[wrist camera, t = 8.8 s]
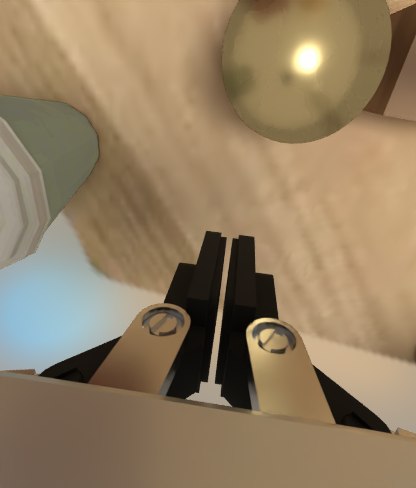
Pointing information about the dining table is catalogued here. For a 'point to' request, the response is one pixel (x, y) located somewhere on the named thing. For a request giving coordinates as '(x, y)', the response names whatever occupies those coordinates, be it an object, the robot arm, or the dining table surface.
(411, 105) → the walnut block
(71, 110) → the disposable coffee cup
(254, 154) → the dining table surface
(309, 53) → the balance
